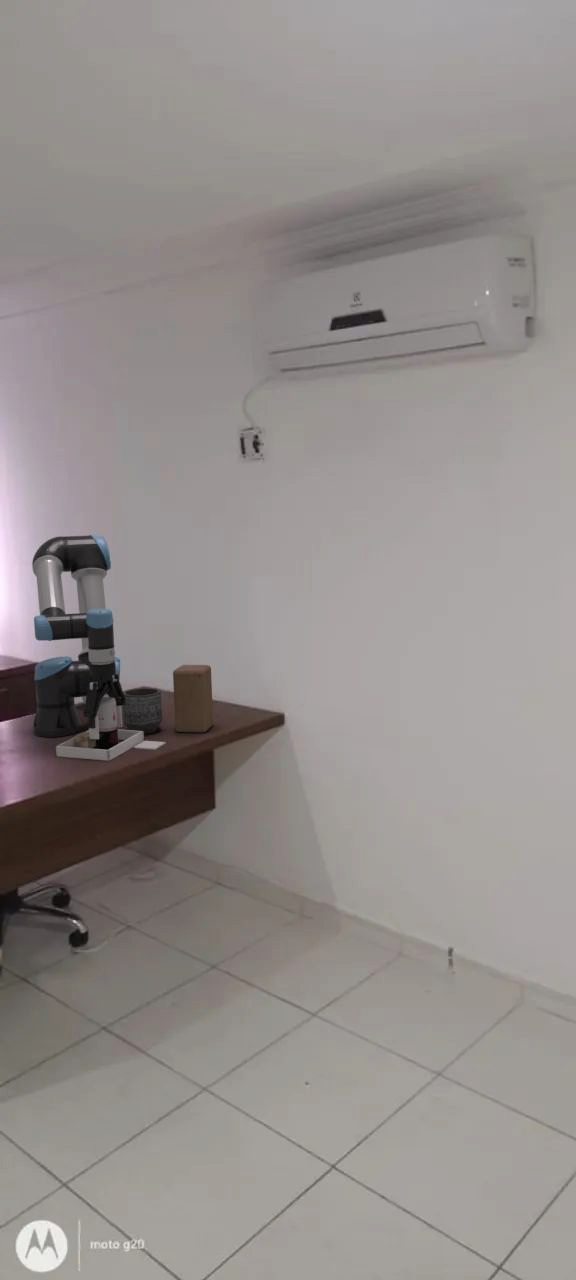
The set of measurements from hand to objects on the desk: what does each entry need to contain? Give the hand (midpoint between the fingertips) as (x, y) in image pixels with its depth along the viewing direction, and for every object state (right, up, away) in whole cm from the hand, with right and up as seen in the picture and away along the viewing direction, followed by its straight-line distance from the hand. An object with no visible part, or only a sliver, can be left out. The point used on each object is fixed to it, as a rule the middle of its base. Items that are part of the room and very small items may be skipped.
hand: (106, 732), depth 274 cm
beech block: (-7, -5, +3) cm, 9 cm away
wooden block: (+24, -1, +21) cm, 32 cm away
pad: (+12, -4, +3) cm, 13 cm away
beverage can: (0, -5, +1) cm, 5 cm away
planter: (+8, -2, +20) cm, 22 cm away
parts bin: (-2, -5, +2) cm, 5 cm away
